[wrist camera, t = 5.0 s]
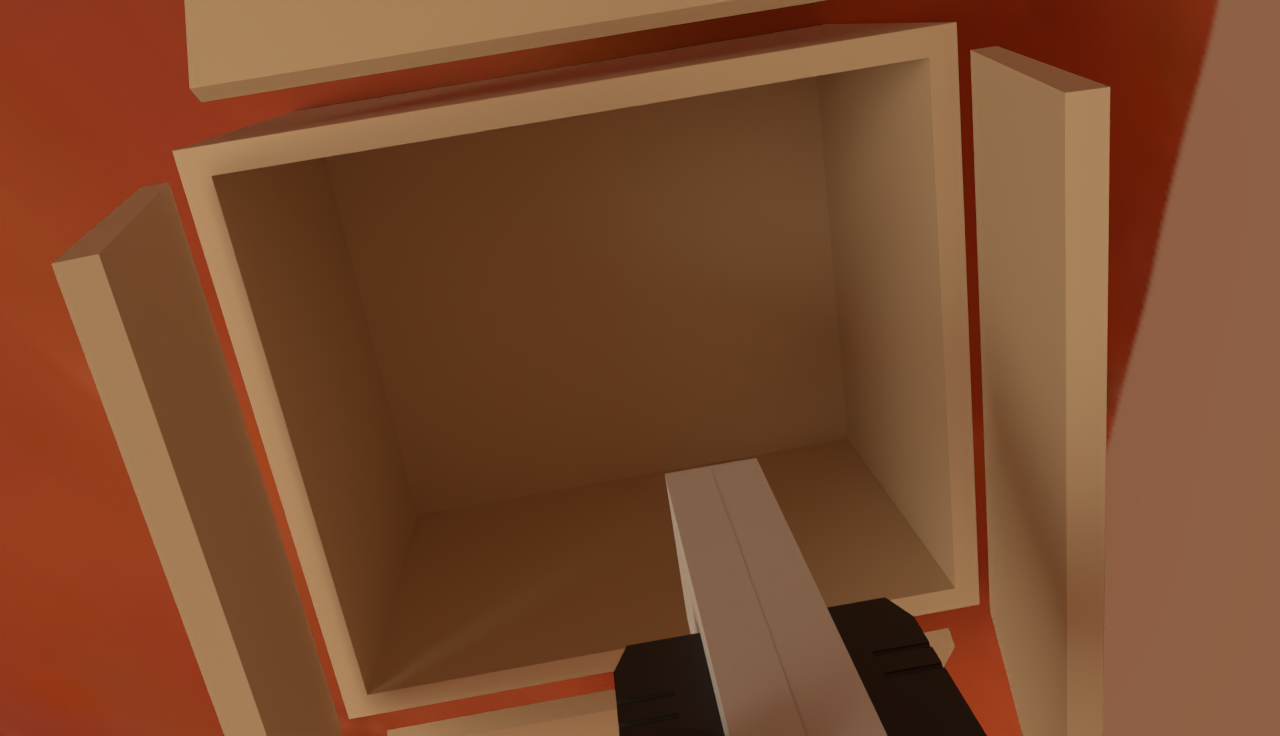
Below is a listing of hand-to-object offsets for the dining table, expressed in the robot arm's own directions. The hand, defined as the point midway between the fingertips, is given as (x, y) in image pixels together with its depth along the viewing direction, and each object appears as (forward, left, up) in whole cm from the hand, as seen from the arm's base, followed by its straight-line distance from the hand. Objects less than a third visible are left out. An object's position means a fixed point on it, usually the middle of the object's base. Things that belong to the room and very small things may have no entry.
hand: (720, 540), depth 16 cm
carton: (-1, 0, -17) cm, 17 cm away
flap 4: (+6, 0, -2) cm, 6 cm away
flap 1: (-8, 0, -2) cm, 8 cm away
